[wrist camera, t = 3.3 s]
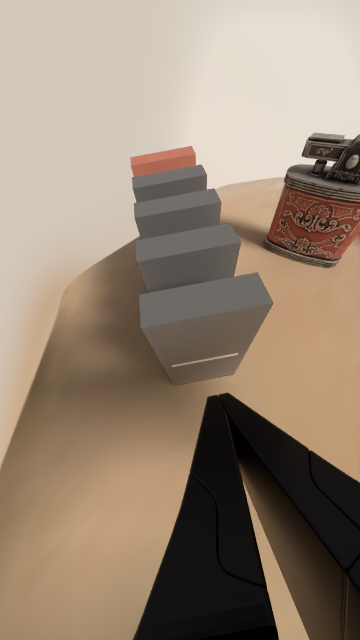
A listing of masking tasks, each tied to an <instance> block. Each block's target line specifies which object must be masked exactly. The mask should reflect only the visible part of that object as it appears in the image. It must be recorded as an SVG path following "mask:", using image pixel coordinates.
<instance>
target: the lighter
mask: <svg viewBox="0 0 360 640" xmlns="http://www.w3.org/2000/svg"><path fill="white" fill-rule="evenodd" d="M302 157H306V158H314V159H318V160H317V161H316V163H315V165H294V166H292V167H290V168H289V169H288V171H287V174H286V176H285V179H284V183H285V186H284V188H283V191H282V194H281V197H280V200H279V203H278V206H277V209H276V212H275V215H274V218H273V221H272V224H271V227H270V230H269V233H268V234H267V235H266V237H265V240H264V243H263V244H264V247H265V248H266V249H267V250H269V251H272V252H274V253H276V254H278V255H280V256H283V257H285V258H288V259H291V260H293V261H297V262H300V263H304V264H307V265H312V266H317V267H322V268H333V267H334V266H336V265H337V263H338V262H339V261H340V260H341V258H342V256H343V253H344V252H345V250H346V249H347V248H348V247H349V245H350V244H351V243H352V241H353V240H354V239H355V238H356V236H357V235H358V234H359V233H360V135H358V136H357V137H356V138H355V139H353V140H351V139H344V135H334V134H323V133H313V134H312V135H311V137H309V138H308V140H307V142H306V144H305V147H304V150H303V153H302ZM327 160H328V161H335V162H336V163H335V164H334V165H333V166H332V167H329V166H326V164H327Z"/></svg>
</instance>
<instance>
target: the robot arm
mask: <svg viewBox="0 0 360 640" xmlns="http://www.w3.org/2000/svg"><path fill="white" fill-rule="evenodd" d="M242 479H243V480H242ZM243 481H244V484H245V486H246V489H247V491H248V493H249V496H250V498H251V501H252V503H253V505H254V508H255V510H256V512H257V515H258V517H259V520H260V522H261V524H262V527H263V529H264V532H265V534H266V536H267V539H268V541H269V544H270V546H271V548H272V551H273V553H274V556H275V558H276V560H277V563H278V565H279V568H280V570H281V572H282V575H283V577H284V580H285V582H286V584H287V587H288V589H289V591H290V594H291V596H292V599H293V601H294V603H295V606H296V608H297V611H298V613H299V615H300V618H301V620H302V623H303V625H304V627H305V630H306V632H307V635H308V637H309V639H310V640H360V482H358V481H357V480H355V479H353V478H352V477H350V476H349V475H347V474H346V473H344V472H342V471H341V470H339V469H338V468H336V467H335V466H333V465H332V464H330V463H329V462H327V461H326V460H324V459H323V458H322V457H320V456H319V455H317V454H316V453H314V452H313V451H311V450H310V451H309V449H308V448H307V447H306V446H304V445H303V444H301V443H300V442H298V441H297V440H295V439H294V438H293V437H291V436H290V435H288V434H287V433H285V432H284V431H283V430H281V429H280V428H278V427H277V426H275V425H274V424H272V423H271V422H270V421H268V420H267V419H265V418H264V417H262V416H261V415H259V414H258V413H257V412H255V411H254V410H252V409H251V408H249V407H248V406H247V405H245V404H244V403H242V402H241V401H239V400H238V399H236V398H235V397H234V396H232V395H231V394H229V393H224V394H220V395H219V396H217V395H214V396H209V397H208V398H207V402H206V406H205V410H204V414H203V418H202V423H201V427H200V431H199V435H198V439H197V444H196V448H195V452H194V456H193V460H192V464H191V469H190V474H189V476H188V481H187V485H186V489H185V492H184V496H183V500H182V503H181V507H180V510H179V513H178V516H177V519H176V522H175V525H174V529H173V532H172V535H171V537H170V540H169V543H168V546H167V548H166V551H165V554H164V557H163V559H162V562H161V565H160V568H159V571H158V573H157V576H156V579H155V582H154V584H153V587H152V590H151V593H150V596H149V598H148V601H147V604H146V607H145V609H144V612H143V615H142V617H141V620H140V623H139V625H138V628H137V631H136V633H135V635H134V638H133V640H279V638H278V631H277V627H276V623H275V619H274V615H273V611H272V607H271V602H270V598H269V594H268V591H267V585H266V581H265V576H264V572H263V567H262V563H261V559H260V554H259V550H258V546H257V541H256V537H255V533H254V528H253V524H252V520H251V515H250V511H249V506H248V502H247V498H246V493H245V489H244V485H243Z"/></svg>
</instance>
